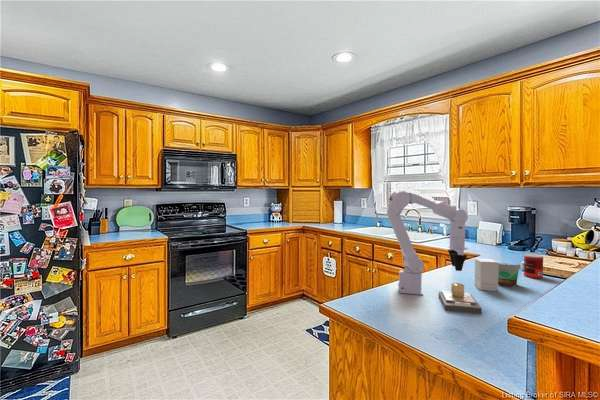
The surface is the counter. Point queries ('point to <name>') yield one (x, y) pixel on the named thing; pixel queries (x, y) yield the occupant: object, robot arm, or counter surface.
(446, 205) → the robot arm
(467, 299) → the platform
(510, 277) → the food container
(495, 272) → the supplement box
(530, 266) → the canned food
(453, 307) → the scale
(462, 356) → the counter surface
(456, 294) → the cylinder
